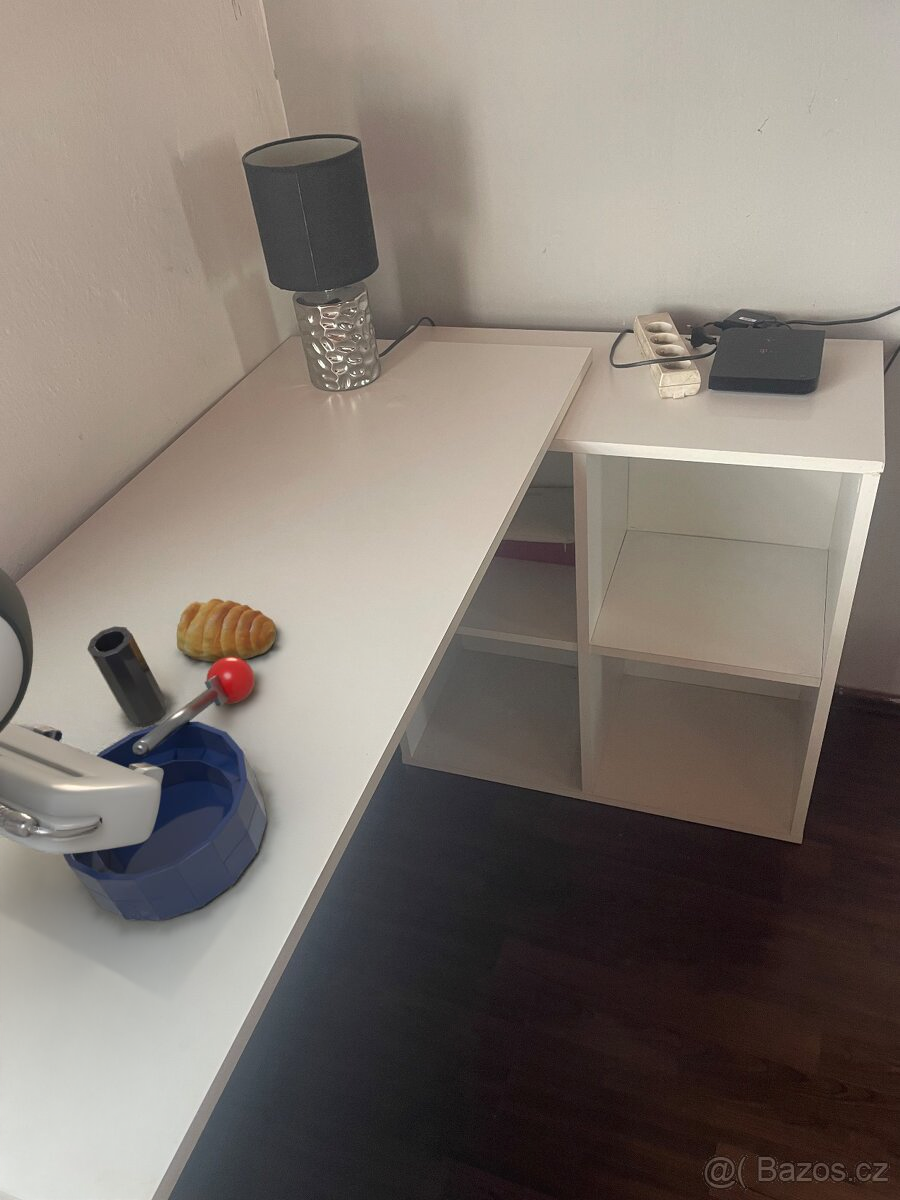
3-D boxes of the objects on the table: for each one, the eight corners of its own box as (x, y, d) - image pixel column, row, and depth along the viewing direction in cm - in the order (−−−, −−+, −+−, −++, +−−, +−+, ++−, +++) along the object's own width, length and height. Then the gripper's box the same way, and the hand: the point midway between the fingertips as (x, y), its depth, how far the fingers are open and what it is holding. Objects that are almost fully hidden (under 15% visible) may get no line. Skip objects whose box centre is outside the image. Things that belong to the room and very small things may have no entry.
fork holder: (137, 733, 77) (97, 663, 71) (121, 711, 79) (81, 641, 73) (174, 711, 78) (137, 640, 73) (157, 690, 81) (120, 620, 75)
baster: (148, 715, 60) (250, 643, 79) (99, 735, 61) (212, 660, 80) (175, 767, 61) (270, 684, 80) (126, 787, 62) (232, 700, 81)
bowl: (132, 963, 60) (98, 920, 56) (63, 839, 69) (29, 794, 65) (300, 841, 66) (280, 794, 62) (216, 741, 75) (194, 694, 71)
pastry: (289, 621, 86) (279, 592, 83) (264, 670, 81) (252, 641, 78) (205, 616, 88) (193, 587, 86) (175, 663, 83) (161, 635, 81)
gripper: (56, 778, 43) (231, 755, 55) (-191, 677, 51) (11, 677, 63) (27, 902, 43) (210, 851, 55) (-214, 781, 51) (-8, 761, 63)
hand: (102, 757), depth 59 cm, fingers open, 8 cm apart
